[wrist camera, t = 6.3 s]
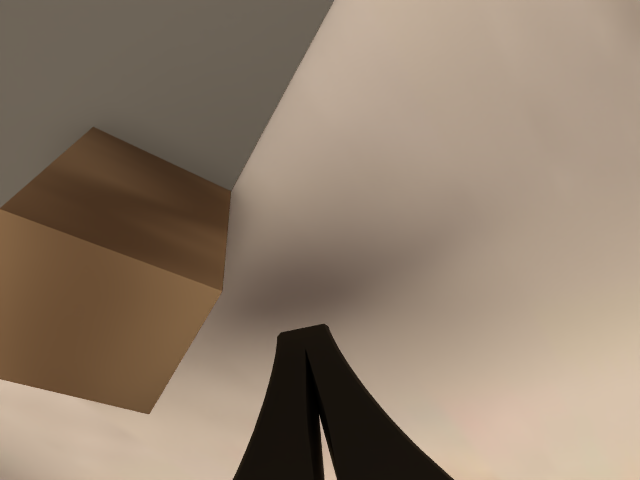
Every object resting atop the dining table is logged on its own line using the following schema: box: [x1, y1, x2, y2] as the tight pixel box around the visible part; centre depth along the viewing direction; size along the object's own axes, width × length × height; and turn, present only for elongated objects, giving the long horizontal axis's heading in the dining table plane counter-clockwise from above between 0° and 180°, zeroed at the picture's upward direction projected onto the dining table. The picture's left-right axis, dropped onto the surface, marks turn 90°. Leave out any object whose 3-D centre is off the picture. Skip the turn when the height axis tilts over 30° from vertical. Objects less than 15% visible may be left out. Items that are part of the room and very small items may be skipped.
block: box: [0, 127, 231, 414], centre depth 11 cm, size 4×4×5 cm
